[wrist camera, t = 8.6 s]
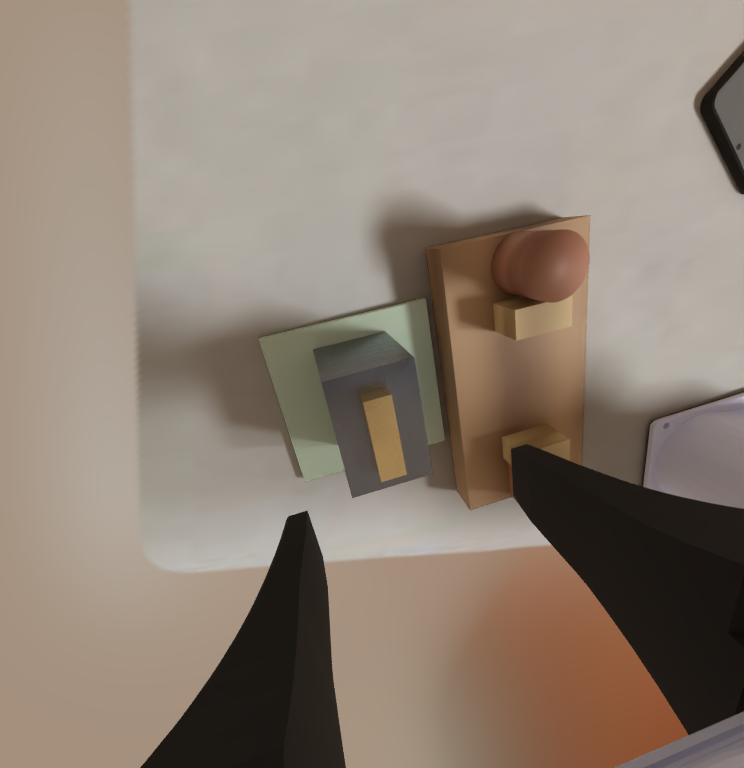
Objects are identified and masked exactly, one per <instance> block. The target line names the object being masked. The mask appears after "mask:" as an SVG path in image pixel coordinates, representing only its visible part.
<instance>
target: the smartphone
mask: <svg viewBox="0 0 744 768" xmlns="http://www.w3.org/2000/svg"><path fill="white" fill-rule="evenodd" d="M701 114H702V116H703V118H704V120H705V122H706V124H707V126H708V128H709V130H710V132H711V134H712V136H713V138H714V141H715V143H716V145H717V147H718V149H719V151H720V153H721V155H722V157H723V159H724V161H725V163H726V165H727V166H728V168H729V170H730V172H731V174H732V176H733V178H734V180H735V182H736V184H737V186H738V188H739V190H740V192H741V193H742V194H744V159H743V158H744V52H743V53H742V54H741V55H740V56H739V57H738V59H737V60H736V61H735V62H734V63H733V64H732V65H731V67H730V68H729V69H728V70H727V71H726V72H725V73H724V75H723V76H722V77H721V78H720V79H719V80H718V81H717V83H716V84H715V85H714V86H713V87H712V88H711V90H710V91H709V92H708V93H707V94H706V95H705V97H704V98H703V100H702V103H701ZM729 138H730V139H729ZM737 155H738V156H737Z"/></svg>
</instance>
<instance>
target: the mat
mask: <svg viewBox="0 0 744 768" xmlns="http://www.w3.org/2000/svg"><path fill="white" fill-rule="evenodd" d="M384 331H386V332H387V333H388V334H389V335H390V336H391V337H392V338H393V339H395V340H396V341H397V342H398V343H399V344H400V345H401V346H402V347H403V348H405V349H406V350H407V351H408V352H409V353H410V354H411V355H412V356H413V357H414V358H415V364H416V370H417V377H418V383H419V389H420V396H421V402H422V408H423V414H424V421H425V427H426V433H427V440H428V446H429V445H432V444H435V443H439V442H442V441H445V437H444V429H443V422H442V415H441V407H440V400H439V392H438V385H437V378H436V370H435V363H434V356H433V348H432V341H431V334H430V326H429V319H428V312H427V304H426V299H424V298H422V299H418V300H413V301H409V302H405V303H401V304H397V305H393V306H389V307H384V308H380V309H376V310H372V311H368V312H364V313H360V314H355V315H351V316H347V317H343V318H339V319H335V320H331V321H327V322H322V323H318V324H314V325H310V326H306V327H302V328H298V329H293V330H289V331H285V332H281V333H277V334H273V335H269V336H264V337H260V338H259V343H260V346H261V349H262V352H263V355H264V358H265V361H266V364H267V367H268V370H269V374H270V377H271V380H272V383H273V386H274V389H275V392H276V395H277V398H278V401H279V404H280V407H281V410H282V413H283V417H284V420H285V423H286V426H287V429H288V432H289V435H290V438H291V441H292V444H293V447H294V450H295V453H296V456H297V459H298V463H299V466H300V469H301V472H302V475H303V478H304V481H305V482H306V481H310V480H313V479H316V478H320V477H323V476H327V475H330V474H333V473H337V472H340V471H344V470H345V469H344V465H343V461H342V458H341V454H340V450H339V447H338V443H337V439H336V435H335V432H334V428H333V424H332V421H331V417H330V413H329V410H328V406H327V402H326V399H325V395H324V391H323V387H322V384H321V380H320V376H319V372H318V368H317V364H316V360H315V356H314V352H313V349H316V348H320V347H324V346H328V345H332V344H336V343H340V342H344V341H348V340H352V339H356V338H360V337H364V336H368V335H372V334H376V333H380V332H384Z"/></svg>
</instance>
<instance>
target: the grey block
mask: <svg viewBox="0 0 744 768" xmlns="http://www.w3.org/2000/svg"><path fill="white" fill-rule="evenodd" d="M313 352H314V356H315V360H316V364H317V368H318V372H319V376H320V380H321V384H322V387H323V391H324V395H325V399H326V402H327V406H328V410H329V413H330V417H331V421H332V424H333V428H334V432H335V435H336V439H337V443H338V447H339V450H340V454H341V458H342V461H343V465H344V469H345V472H346V476H347V480H348V484H349V487H350V491H351V495H352V498H354V497H358V496H361V495H364V494H368V493H371V492H374V491H377V490H381V489H384V488H387V487H390V486H394V485H397V484H400V483H404V482H407V481H410V480H413V479H417V478H420V477H423V476H426V475H430V474H433V471H432V465H431V459H430V452H429V446H428V440H427V433H426V427H425V421H424V414H423V408H422V402H421V396H420V389H419V383H418V377H417V370H416V364H415V358H414V357H413V356H412V355H411V354H410V353H409V352H408V351H407V350H406V349H405V348H403V347H402V346H401V345H400V344H399V343H398V342H397V341H396V340H395V339H393V338H392V337H391V336H390V335H389V334H388V333H387V332H386V331H384V332H380V333H376V334H372V335H368V336H364V337H360V338H356V339H352V340H348V341H344V342H340V343H336V344H332V345H328V346H324V347H320V348H316V349H313Z"/></svg>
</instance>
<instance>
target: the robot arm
mask: <svg viewBox="0 0 744 768" xmlns="http://www.w3.org/2000/svg"><path fill="white" fill-rule="evenodd" d="M511 461H512V479H513V496H514V497H515V499H516V500H517V502H518V503H519V505H520V506H521V508H522V509H523V511H524V512H525V513H526V515H527V516H528V518H529V519H530V520H531V522H532V523H533V524H534V525H535V526H536V527H537V529H538V530H539V531H540V532H541V533H542V534H543V535H544V537H545V538H546V539H547V540H548V541H549V542H550V543H551V544H552V546H553V547H554V548H555V549H556V550H557V551H558V552H559V553H560V555H561V556H562V557H563V558H564V559H565V560H566V561H567V562H568V564H569V565H570V566H571V567H572V568H573V569H574V570H575V571H576V572H577V574H578V575H579V576H580V577H581V578H582V580H583V581H584V582H585V583H586V584H587V586H588V587H589V588H590V590H591V591H592V592H593V594H594V595H595V596H596V598H597V599H598V600H599V602H600V603H601V604H602V605H603V607H604V608H605V610H606V611H607V613H608V614H609V615H610V617H611V618H612V619H613V621H614V622H615V624H616V625H617V626H618V628H619V629H620V631H621V632H622V634H623V635H624V636H625V638H626V639H627V640H628V642H629V644H630V645H631V646H632V648H633V649H634V651H635V652H636V654H637V655H638V657H639V658H640V660H641V661H642V663H643V664H644V666H645V667H646V669H647V670H648V672H649V673H650V675H651V676H652V678H653V679H654V681H655V682H656V684H657V685H658V687H659V688H660V690H661V692H662V693H663V695H664V696H665V698H666V699H667V701H668V703H669V704H670V706H671V707H672V709H673V710H674V712H675V714H676V715H677V717H678V718H679V720H680V722H681V723H682V725H683V726H684V728H685V729H686V731H687V733H688V734H689V735H688V736H686V737H684V738H681V739H679V740H677V741H674V742H672V743H670V744H668V745H665V746H663V747H661V748H658V749H656V750H654V751H652V752H649V753H647V754H645V755H642V756H640V757H638V758H636V759H633V760H631V761H629V762H626V763H624V764H622V765H619V766H617V767H615V768H744V393H741V394H738V395H734V396H731V397H728V398H725V399H721V400H718V401H715V402H712V403H709V404H705V405H702V406H699V407H696V408H692V409H689V410H686V411H683V412H680V413H676V414H673V415H670V416H667V417H663V418H660V419H657V420H655V421H653V422H652V423H651V425H650V431H649V440H648V449H647V457H646V466H645V475H644V483H643V487H642V486H638V485H635V484H632V483H629V482H626V481H623V480H620V479H617V478H614V477H611V476H608V475H605V474H602V473H600V472H597V471H594V470H592V469H589V468H586V467H584V466H581V465H579V464H576V463H574V462H571V461H569V460H566V459H564V458H561V457H559V456H556V455H554V454H552V453H549V452H547V451H544V450H542V449H539V448H537V447H534V446H531V445H528V444H525V445H522V446H519V447H515V448H512V449H511ZM141 768H346V766H345V760H344V753H343V746H342V739H341V732H340V725H339V718H338V711H337V704H336V697H335V689H334V682H333V672H332V660H331V641H330V621H329V602H328V586H327V580H326V573H325V568H324V561H323V556H322V553H321V550H320V547H319V544H318V541H317V538H316V535H315V532H314V529H313V526H312V523H311V520H310V517H309V514H308V511H305V512H301V513H298V514H295V515H291V516H289V517H288V518H287V520H286V523H285V527H284V530H283V533H282V536H281V539H280V542H279V545H278V548H277V550H276V553H275V556H274V558H273V561H272V563H271V566H270V568H269V571H268V573H267V576H266V578H265V580H264V583H263V584H262V587H261V589H260V591H259V593H258V595H257V598H256V600H255V602H254V604H253V606H252V608H251V610H250V612H249V614H248V616H247V617H246V619H245V621H244V623H243V625H242V627H241V628H240V630H239V632H238V634H237V635H236V637H235V639H234V641H233V642H232V644H231V645H230V647H229V649H228V650H227V652H226V654H225V655H224V657H223V659H222V660H221V662H220V663H219V665H218V666H217V668H216V670H215V671H214V672H213V674H212V675H211V677H210V678H209V680H208V681H207V682H206V684H205V685H204V687H203V688H202V690H201V691H200V692H199V694H198V695H197V697H196V698H195V700H194V701H193V702H192V704H191V705H190V706H189V708H188V709H187V711H186V712H185V713H184V715H183V716H182V717H181V719H180V720H179V721H178V722H177V724H176V725H175V726H174V728H173V729H172V730H171V731H170V732H169V734H168V735H167V736H166V737H165V738H164V740H163V741H162V742H161V743H160V745H159V746H158V747H157V748H156V749H155V751H154V752H153V753H152V755H151V756H150V757H149V758H148V759H147V761H146V762H145V763H144V764H143V765H142V766H141Z"/></svg>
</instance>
